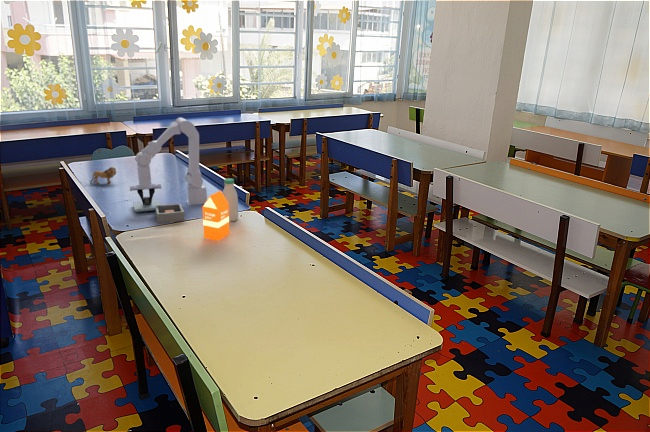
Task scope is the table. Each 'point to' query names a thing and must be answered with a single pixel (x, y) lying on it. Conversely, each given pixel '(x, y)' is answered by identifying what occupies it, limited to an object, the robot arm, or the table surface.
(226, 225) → the orange juice
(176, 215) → the storage box
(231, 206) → the milk bottle
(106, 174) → the lion figurine
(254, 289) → the table surface
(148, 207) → the lid
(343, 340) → the table surface
